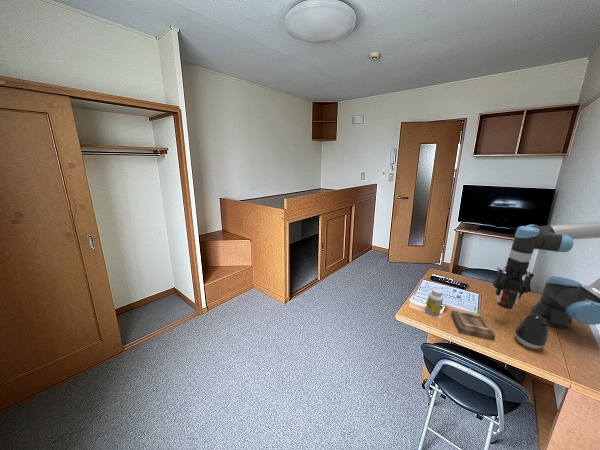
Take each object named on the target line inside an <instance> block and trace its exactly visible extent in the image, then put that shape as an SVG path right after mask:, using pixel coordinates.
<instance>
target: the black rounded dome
mask: <svg viewBox="0 0 600 450" xmlns="http://www.w3.org/2000/svg"><path fill="white" fill-rule="evenodd" d="M549 327H551V325H549V324H547V323H546V320H545V319H544V318H543V317H542V316H541V315H538V314H531V313H530V314H528V315H527V316H525V317H524V318H523V319H522V320H521V321H520V322H519V324H518V325H517V326H516V328H515V331H514V332H515V337H516V339H517V341H518V342H519V343H520V344H521V345H523V346H525V347H527V348H528V349H529V348H530V349H533V350H539V349H542V348H544V347H545V346H546V345H547V343H548V337H549V329H548V328H549Z"/></svg>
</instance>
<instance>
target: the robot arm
mask: <svg viewBox="0 0 600 450" xmlns="http://www.w3.org/2000/svg"><path fill="white" fill-rule="evenodd" d="M585 239H590V240H591V239H600V221H587V222H577V223H576V222H575V223H567V224H566V223H565V224H553V225H552V224H551V225H550V224H549V225H537V224H527V225H521V226H518V227H517V228H516V231H515V234H514V238H513V240H512V244H511V245H512V246H511V248H510V251H509V255H508V256H509V257H508V258H507V261H506V265H505V267H504V268H501V267H497V269H496V271H497V273H496V275H495V278H494V281H493V283H492V286H493V287H494V288H495V295H496V297H495V300H496V301H497V302H500V301H501V297H502V294H503V290H502V289H503V287H504V286H505V285H506V282H507V279H511V278H517V279H518V280H519V281H521V283H520V286H519V289H518V292H517V295H516V299H515V302H514V305H513V306H517V303H518V300H520V299H521V297H522V295H524V294H525V293H526V294H528V293H529V289H530V286H531V282H532V279H533V277H534V274H533V273H532V272H531V271H528V269H529V265H530V261H531V259H532V256H533V254H534V250H542V251H550V252H557V253H567V252H569V251H571V250H572V249H573V246H574V240H585ZM504 273H505V274H504ZM503 275H504V276H503ZM523 276H524V280H523ZM529 312H530V315H531V314H538V315H541V316H542V317H543V318H544V319H545V320H546V323H547V324H549V325H550V327H551V326H552V327H555V328H560V329H570V328H571V326H572V324H573V319H574V320H575V321H577V322H579V323H581V324H583V325H592V326H593V325H600V277H598V278H597V279H596V280H595V281H593V282H592V283H590V284H589V285H585V284H584V285H583V284H582V283H581V282H580V281H577V280H573V279H571V278H570V279H569V278H565V277H561V276H555V275H554V276H553V275H552V276H550V277H548V279H547V280H546V282H545V285H544V288H543V290H542V293H541V296H540V298H539V300H538V301H537V302H536V303H535V304H534V305H533V306H532V307H531V309H530V311H529Z"/></svg>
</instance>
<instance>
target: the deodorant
mask: <svg viewBox="0 0 600 450" xmlns="http://www.w3.org/2000/svg"><path fill="white" fill-rule="evenodd" d="M520 283H521V281H519V280H518V279H517V278H511V279H507V282H506V285H505V286H504V287H503V289H502V290H503V294H502V297H501V301H500V302H498V301H497V303H496V304H497V306H499V307H501V308H503V309H507V310H513V308H514V306H515V305H514V302H515V299H516V295H517V292H518V289H519V286H520Z"/></svg>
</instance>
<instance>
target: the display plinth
mask: <svg viewBox="0 0 600 450" xmlns="http://www.w3.org/2000/svg"><path fill="white" fill-rule="evenodd" d="M450 317H451V318H452V320H453V323H454V325H455V328H456V329H457V331H458V333H459V334H463V335H467V336H472V337H476V338H481V339H485V340H489V341H490V340H491V341H495V339H496V334H495V333H494V331H493V330H492V328H491V327H490V325H489V323H488V322H487V320H486V319H485V317H484V316H483V315H481V314H476V313H471V312H465V311H461V310H456V311H455V310H452V311H451V312H450Z"/></svg>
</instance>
